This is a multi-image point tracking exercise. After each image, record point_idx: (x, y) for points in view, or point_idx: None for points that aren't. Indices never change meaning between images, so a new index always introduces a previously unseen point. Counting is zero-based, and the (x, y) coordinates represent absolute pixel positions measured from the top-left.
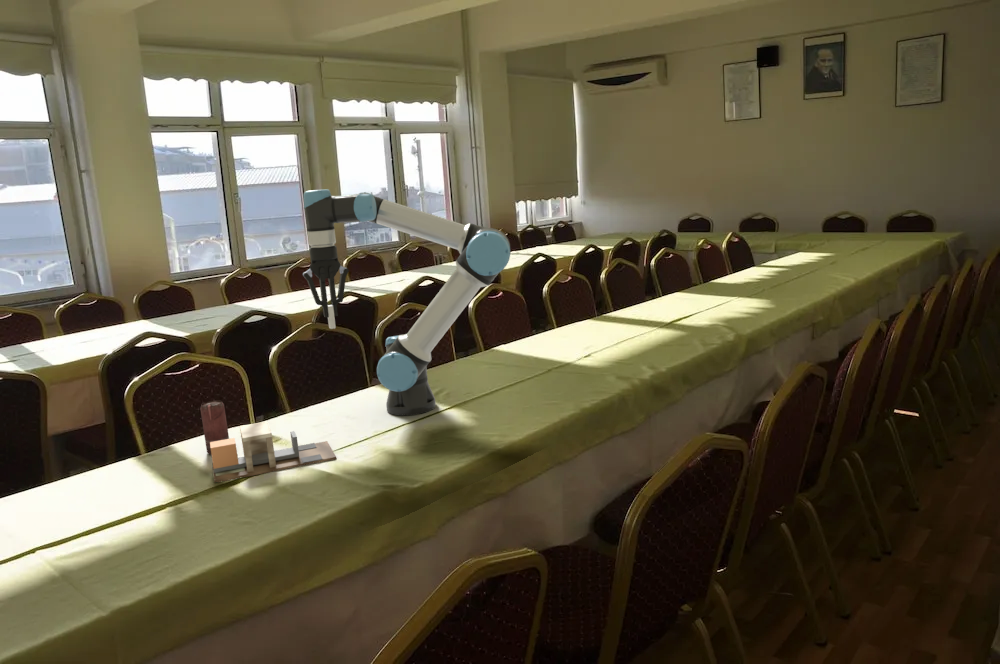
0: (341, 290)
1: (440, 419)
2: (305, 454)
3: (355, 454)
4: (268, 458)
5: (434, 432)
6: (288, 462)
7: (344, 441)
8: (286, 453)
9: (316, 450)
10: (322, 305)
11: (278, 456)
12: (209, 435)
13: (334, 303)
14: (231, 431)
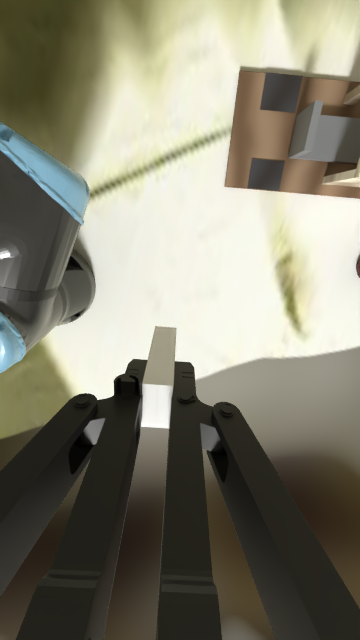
0: (36, 459)
1: None
2: (280, 132)
3: (201, 76)
4: (354, 118)
5: (37, 106)
6: None
7: (197, 175)
8: (319, 125)
9: (257, 142)
10: (201, 404)
11: (336, 117)
12: None
13: (130, 389)
14: (320, 346)
